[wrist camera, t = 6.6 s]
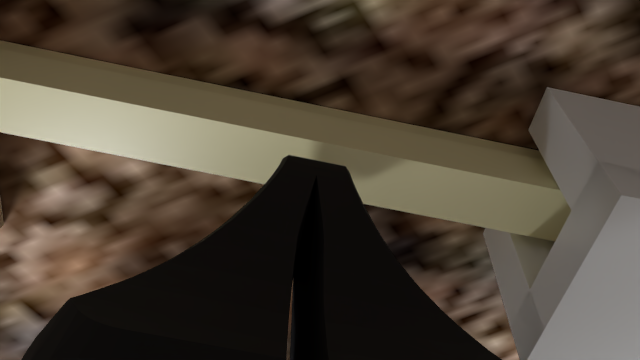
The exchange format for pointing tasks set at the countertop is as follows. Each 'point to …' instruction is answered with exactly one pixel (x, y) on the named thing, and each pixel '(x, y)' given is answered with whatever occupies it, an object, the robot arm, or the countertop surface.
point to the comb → (1, 215)
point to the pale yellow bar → (274, 140)
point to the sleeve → (579, 238)
